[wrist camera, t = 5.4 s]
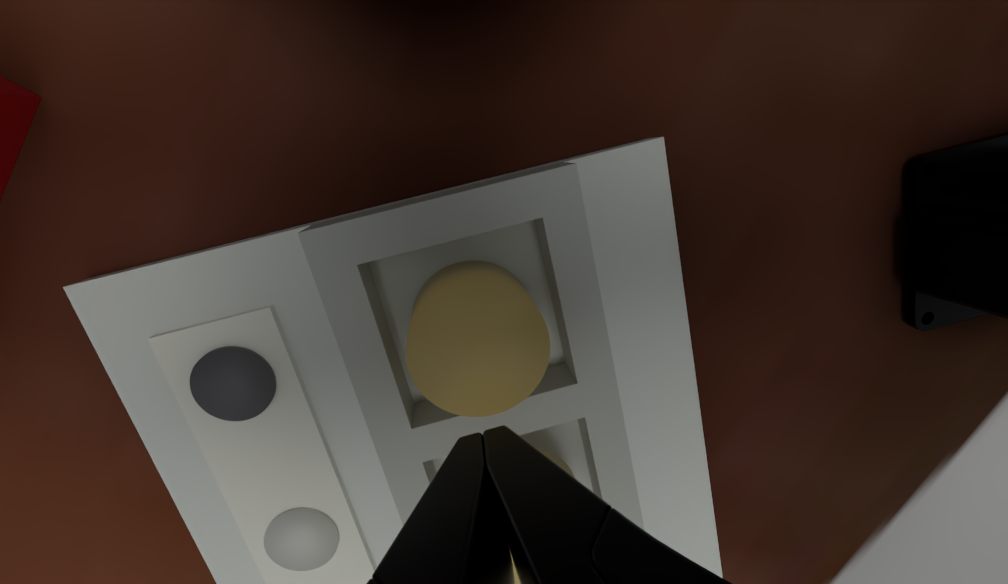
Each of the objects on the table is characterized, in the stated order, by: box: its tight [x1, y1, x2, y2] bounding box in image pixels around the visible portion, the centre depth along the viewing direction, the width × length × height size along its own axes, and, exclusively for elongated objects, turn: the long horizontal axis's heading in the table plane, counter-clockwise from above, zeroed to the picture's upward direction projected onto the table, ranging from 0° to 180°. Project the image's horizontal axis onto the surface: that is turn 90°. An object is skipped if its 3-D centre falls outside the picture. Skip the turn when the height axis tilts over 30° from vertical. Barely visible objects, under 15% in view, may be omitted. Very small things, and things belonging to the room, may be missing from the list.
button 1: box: [406, 261, 550, 417], centre depth 14 cm, size 4×4×3 cm
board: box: [63, 137, 723, 584], centre depth 17 cm, size 18×20×3 cm
